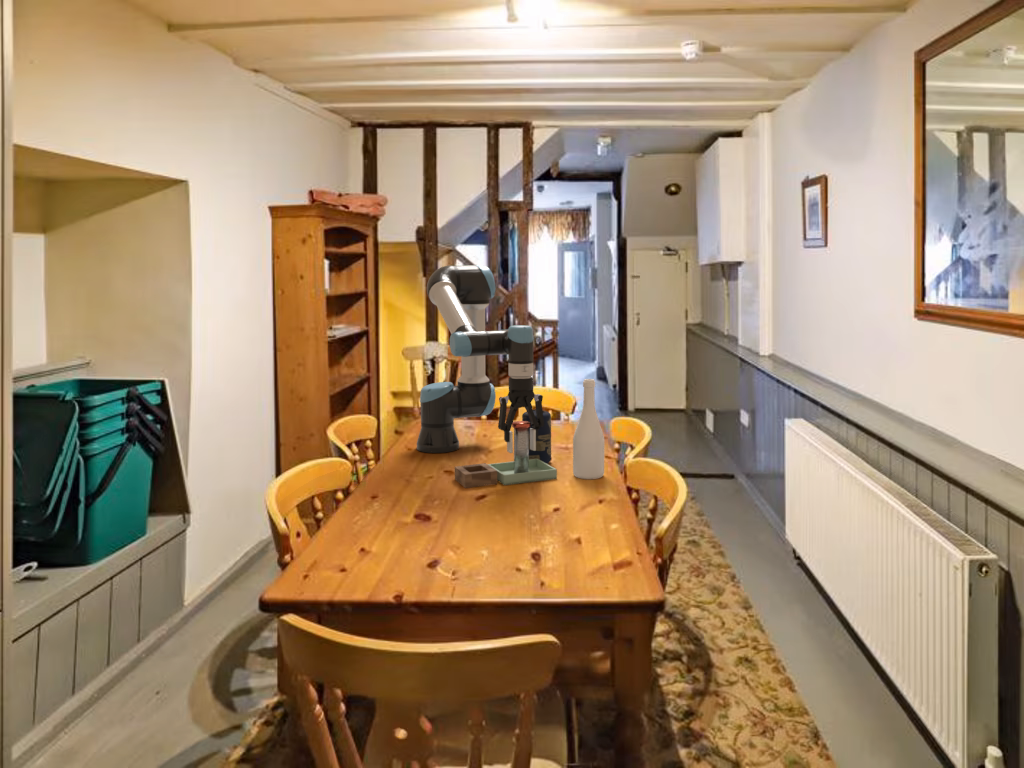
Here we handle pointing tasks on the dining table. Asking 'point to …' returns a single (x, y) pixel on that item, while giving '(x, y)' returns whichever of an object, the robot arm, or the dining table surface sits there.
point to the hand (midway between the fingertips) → (521, 450)
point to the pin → (521, 446)
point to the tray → (536, 473)
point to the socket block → (475, 475)
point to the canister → (541, 438)
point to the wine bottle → (588, 439)
